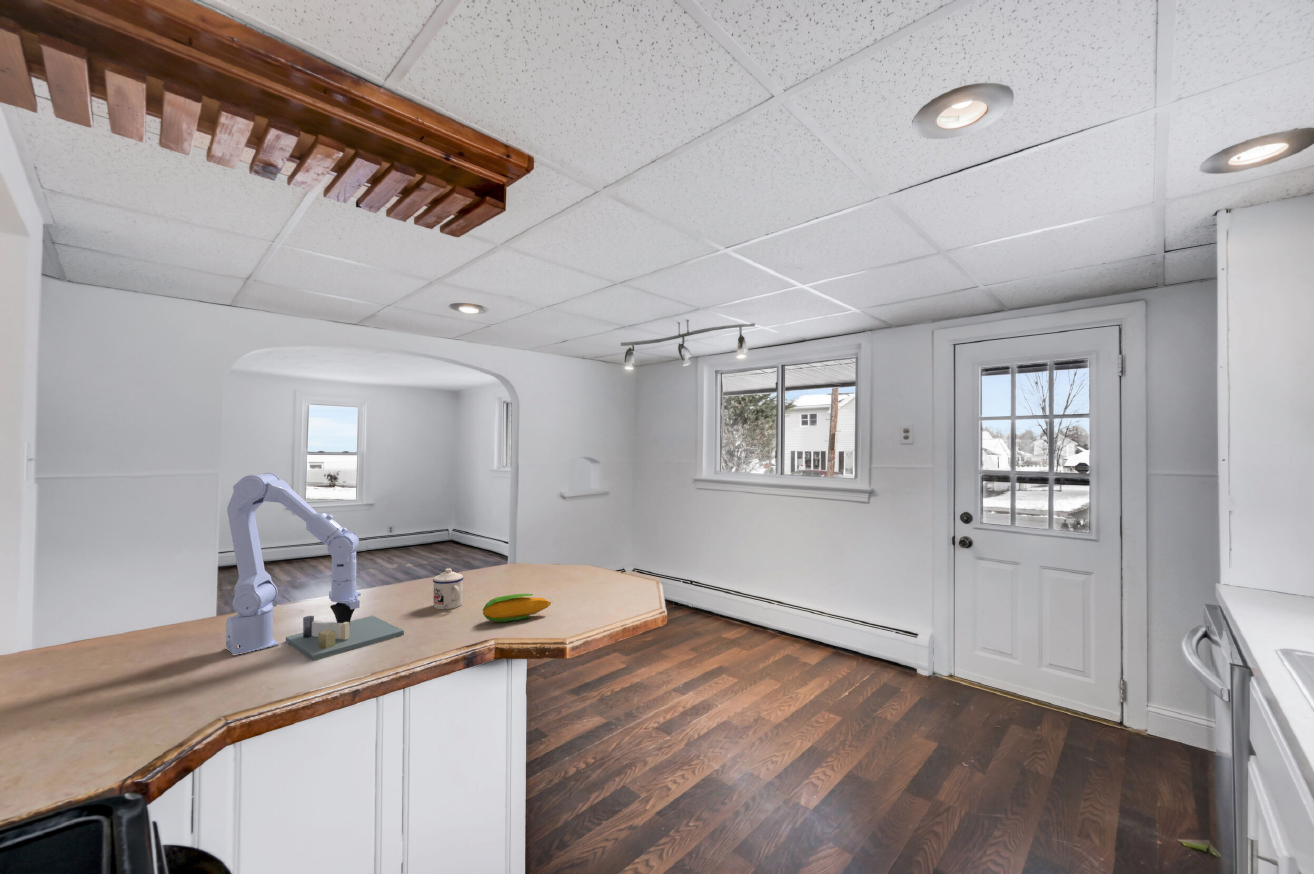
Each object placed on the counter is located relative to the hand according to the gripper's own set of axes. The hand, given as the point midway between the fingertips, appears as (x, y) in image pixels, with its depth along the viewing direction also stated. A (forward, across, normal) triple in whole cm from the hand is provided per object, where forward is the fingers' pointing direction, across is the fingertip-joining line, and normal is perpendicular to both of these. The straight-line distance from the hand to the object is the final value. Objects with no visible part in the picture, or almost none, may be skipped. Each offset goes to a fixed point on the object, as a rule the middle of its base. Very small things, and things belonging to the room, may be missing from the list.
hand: (343, 630), depth 143 cm
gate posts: (+1, +1, +6) cm, 6 cm away
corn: (+3, -21, -40) cm, 45 cm away
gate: (+1, +1, +3) cm, 3 cm away
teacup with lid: (+3, +5, -33) cm, 33 cm away
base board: (+3, +1, -1) cm, 3 cm away
